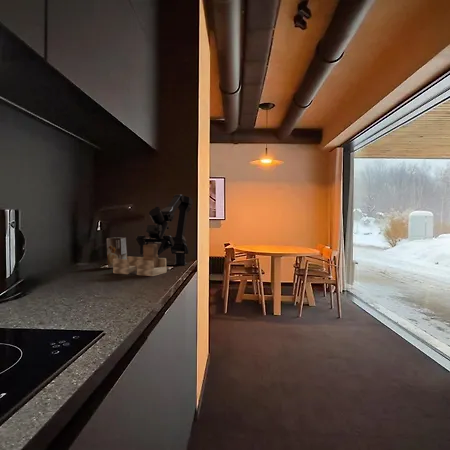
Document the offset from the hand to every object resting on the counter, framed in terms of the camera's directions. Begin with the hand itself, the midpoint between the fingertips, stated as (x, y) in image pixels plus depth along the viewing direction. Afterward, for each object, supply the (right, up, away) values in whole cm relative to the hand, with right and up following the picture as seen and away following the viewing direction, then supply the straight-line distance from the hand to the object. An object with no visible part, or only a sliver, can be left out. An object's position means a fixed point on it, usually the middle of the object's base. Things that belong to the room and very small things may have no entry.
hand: (149, 254), depth 189 cm
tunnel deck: (-5, -9, +5) cm, 12 cm away
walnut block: (+1, -7, +2) cm, 7 cm away
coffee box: (-22, -9, +26) cm, 36 cm away
